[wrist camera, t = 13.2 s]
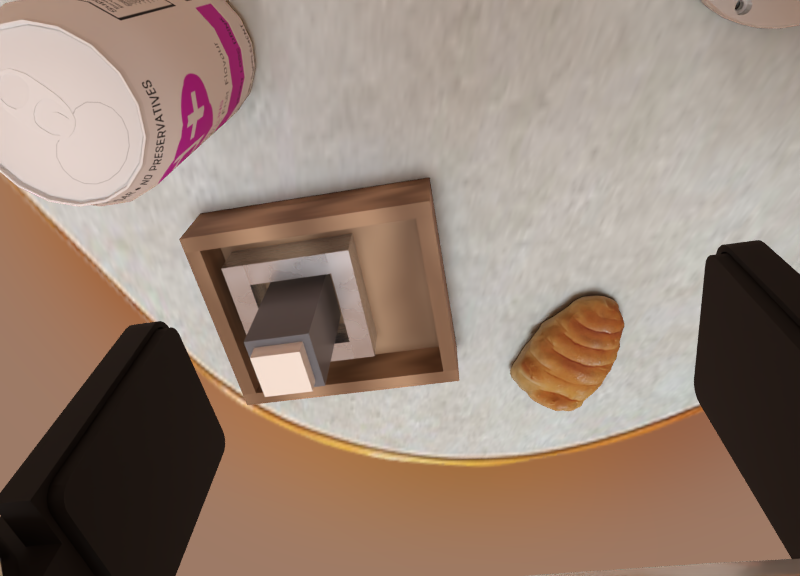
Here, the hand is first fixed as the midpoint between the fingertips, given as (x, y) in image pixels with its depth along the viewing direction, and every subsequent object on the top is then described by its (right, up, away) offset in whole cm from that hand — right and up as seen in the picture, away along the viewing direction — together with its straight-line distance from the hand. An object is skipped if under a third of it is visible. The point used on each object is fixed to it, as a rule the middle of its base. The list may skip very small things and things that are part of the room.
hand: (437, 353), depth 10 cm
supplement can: (-13, +15, +25) cm, 32 cm away
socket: (-7, +1, +33) cm, 33 cm away
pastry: (+12, -3, +35) cm, 37 cm away
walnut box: (-5, +1, +32) cm, 33 cm away
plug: (-7, +1, +32) cm, 33 cm away
